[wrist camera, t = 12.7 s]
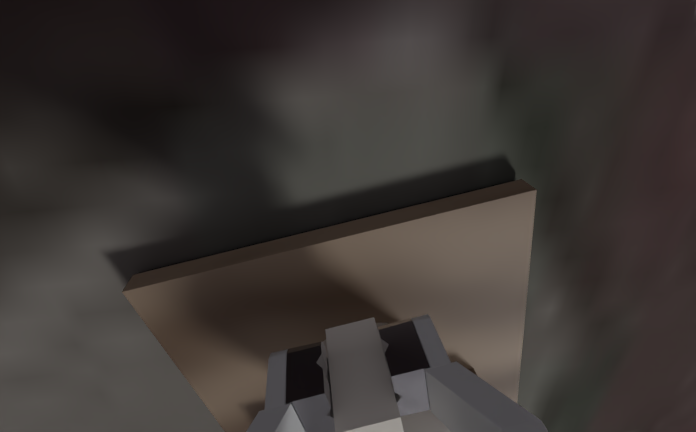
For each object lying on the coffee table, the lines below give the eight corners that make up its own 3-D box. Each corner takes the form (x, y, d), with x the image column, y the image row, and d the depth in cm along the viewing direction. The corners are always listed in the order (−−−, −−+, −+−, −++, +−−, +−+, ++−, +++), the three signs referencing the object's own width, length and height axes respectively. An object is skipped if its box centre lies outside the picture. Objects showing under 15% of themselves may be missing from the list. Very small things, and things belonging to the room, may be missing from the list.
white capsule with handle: (433, 398, 19) (497, 575, 13) (327, 425, 19) (341, 616, 13) (413, 246, 14) (508, 428, 7) (265, 283, 13) (240, 496, 7)
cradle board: (504, 448, 25) (528, 497, 22) (290, 503, 25) (290, 559, 22) (521, 179, 14) (573, 215, 11) (133, 274, 14) (95, 334, 11)
